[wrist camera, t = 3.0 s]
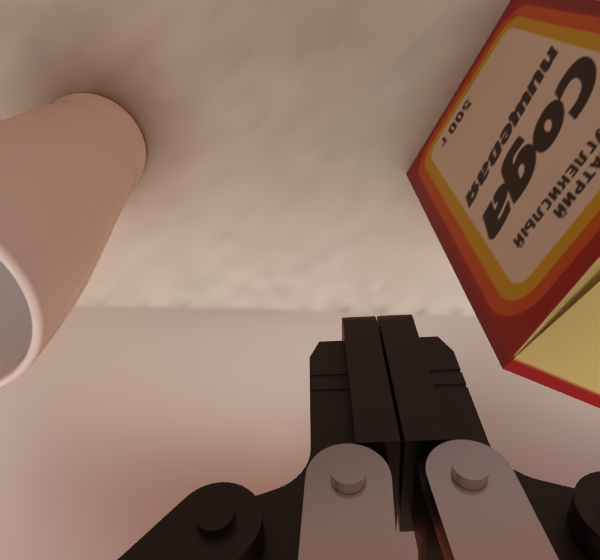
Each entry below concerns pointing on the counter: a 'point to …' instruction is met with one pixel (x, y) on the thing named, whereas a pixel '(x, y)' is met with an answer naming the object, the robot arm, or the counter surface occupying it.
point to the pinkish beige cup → (57, 213)
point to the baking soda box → (526, 191)
